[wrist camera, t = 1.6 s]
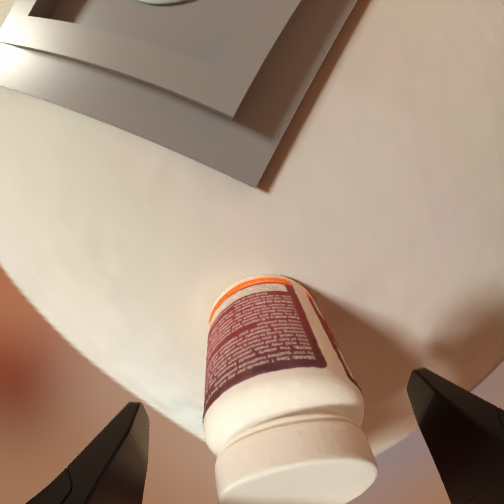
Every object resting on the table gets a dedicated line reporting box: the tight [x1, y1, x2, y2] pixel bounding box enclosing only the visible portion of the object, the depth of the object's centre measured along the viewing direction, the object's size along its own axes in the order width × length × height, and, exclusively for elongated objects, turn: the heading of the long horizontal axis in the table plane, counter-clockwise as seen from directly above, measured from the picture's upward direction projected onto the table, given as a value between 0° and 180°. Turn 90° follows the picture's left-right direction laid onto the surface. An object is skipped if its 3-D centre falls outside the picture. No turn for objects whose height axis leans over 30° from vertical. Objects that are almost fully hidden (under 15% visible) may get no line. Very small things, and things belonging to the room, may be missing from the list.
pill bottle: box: [203, 274, 378, 504], centre depth 9 cm, size 5×5×8 cm
